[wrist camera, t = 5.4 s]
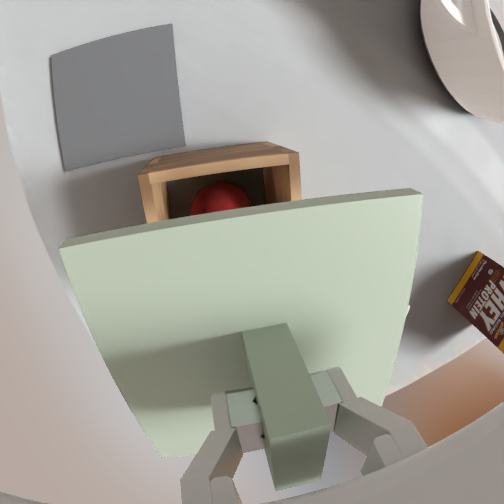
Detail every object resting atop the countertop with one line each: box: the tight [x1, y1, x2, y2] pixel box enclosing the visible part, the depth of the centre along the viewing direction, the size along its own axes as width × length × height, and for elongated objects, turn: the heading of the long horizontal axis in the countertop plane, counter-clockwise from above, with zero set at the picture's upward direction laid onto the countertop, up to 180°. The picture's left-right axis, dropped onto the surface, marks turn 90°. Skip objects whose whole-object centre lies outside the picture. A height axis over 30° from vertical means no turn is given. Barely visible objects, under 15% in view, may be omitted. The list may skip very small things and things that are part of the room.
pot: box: [419, 0, 504, 123], centre depth 23 cm, size 33×23×14 cm
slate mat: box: [51, 24, 186, 171], centre depth 26 cm, size 13×13×1 cm
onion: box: [190, 182, 252, 216], centre depth 29 cm, size 6×6×8 cm
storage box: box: [137, 142, 302, 223], centre depth 28 cm, size 12×12×10 cm
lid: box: [59, 188, 423, 491], centre depth 10 cm, size 12×12×5 cm
